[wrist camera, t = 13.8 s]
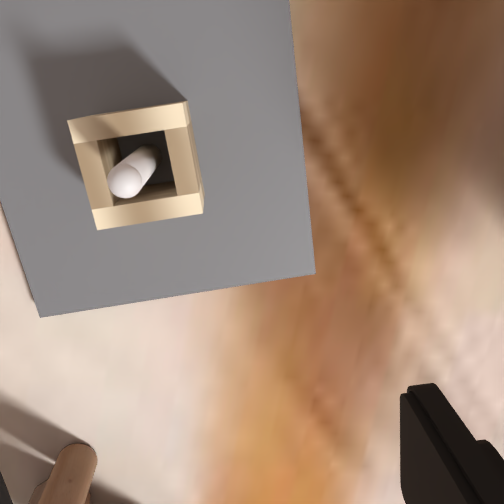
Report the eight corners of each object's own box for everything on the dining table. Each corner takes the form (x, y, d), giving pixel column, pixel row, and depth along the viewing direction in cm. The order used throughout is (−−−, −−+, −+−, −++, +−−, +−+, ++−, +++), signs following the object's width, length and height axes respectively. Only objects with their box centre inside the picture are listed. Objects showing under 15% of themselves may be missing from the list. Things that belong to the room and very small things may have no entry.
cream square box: (187, 100, 28) (182, 102, 24) (204, 194, 30) (202, 213, 26) (91, 115, 28) (67, 120, 23) (115, 208, 30) (97, 230, 25)
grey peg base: (281, -39, 27) (319, -111, 17) (312, 267, 34) (351, 339, 24) (-55, 8, 27) (-210, -39, 17) (45, 309, 34) (-24, 400, 24)
